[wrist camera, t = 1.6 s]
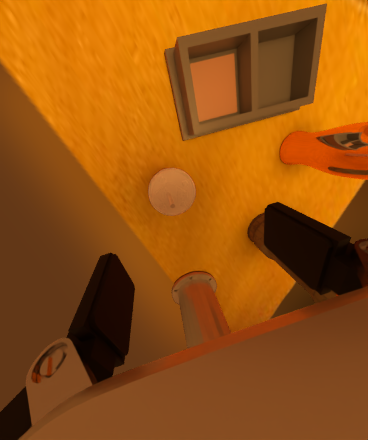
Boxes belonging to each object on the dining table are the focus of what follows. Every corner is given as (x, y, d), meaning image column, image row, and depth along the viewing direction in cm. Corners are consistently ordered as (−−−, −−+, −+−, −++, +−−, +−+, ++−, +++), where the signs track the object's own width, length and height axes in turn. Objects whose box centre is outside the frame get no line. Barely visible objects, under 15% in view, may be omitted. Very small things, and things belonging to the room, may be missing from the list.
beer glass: (271, 149, 30) (363, 155, 17) (300, 119, 29) (427, 99, 16) (286, 173, 33) (376, 194, 20) (314, 147, 32) (430, 150, 19)
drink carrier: (294, 110, 28) (318, 105, 24) (182, 140, 27) (188, 140, 23) (303, 21, 23) (335, -5, 19) (164, 53, 21) (167, 33, 17)
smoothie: (148, 159, 27) (146, 174, 15) (184, 161, 28) (210, 176, 16) (149, 195, 30) (148, 233, 17) (182, 195, 31) (202, 230, 19)
